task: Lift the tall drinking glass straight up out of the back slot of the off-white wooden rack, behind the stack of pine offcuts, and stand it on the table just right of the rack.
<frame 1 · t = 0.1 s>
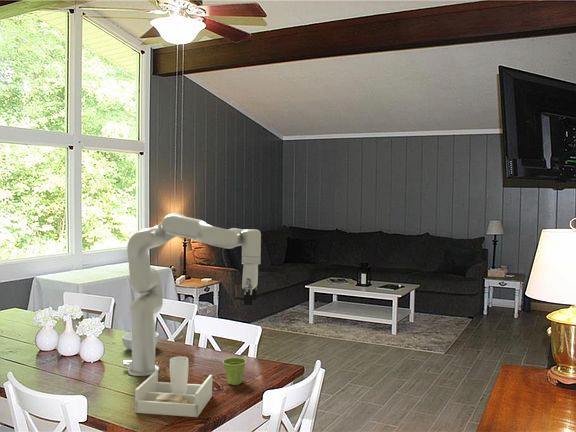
hand: (250, 302, 222), 31 cm above the table, tool pointing down, fingers open, 9 cm apart
offcut stack: (170, 410, 191), resting in rack
plant pot: (234, 383, 218), on the table
rack: (173, 405, 194), on the table
cereal bowl: (140, 350, 259), on the table
drinking glass: (178, 400, 200), resting in rack
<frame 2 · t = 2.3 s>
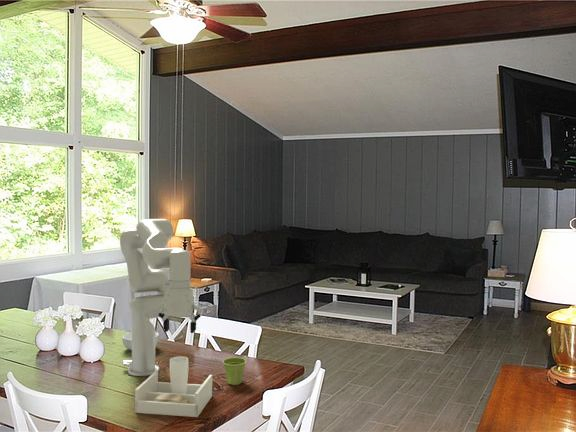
hand: (179, 331, 198), 25 cm above the table, tool pointing down, fingers open, 9 cm apart
nothing on the table moved.
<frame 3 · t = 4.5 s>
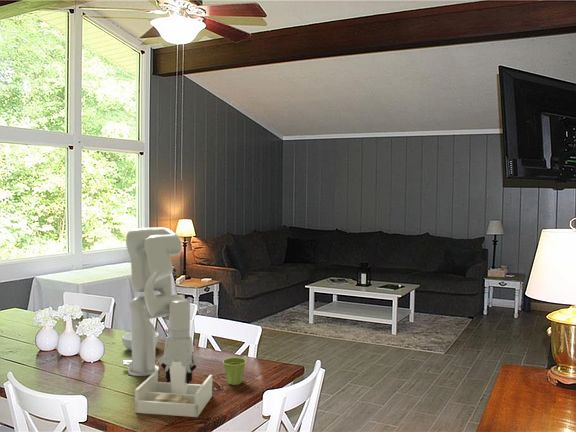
hand: (179, 381, 199), 7 cm above the table, tool pointing down, fingers closed on drinking glass, 6 cm apart
drinking glass: (178, 400, 200), resting in rack, touching gripper
everything else where it was.
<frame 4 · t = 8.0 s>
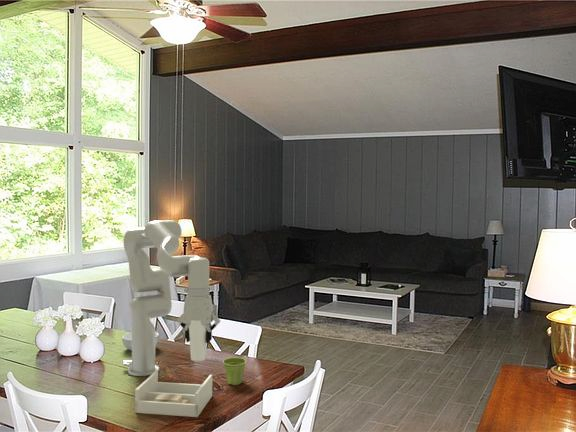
hand: (198, 341, 197), 22 cm above the table, tool pointing down, fingers closed on drinking glass, 6 cm apart
drinking glass: (198, 360, 198), point 15 cm above the table, touching gripper
everything else where it was.
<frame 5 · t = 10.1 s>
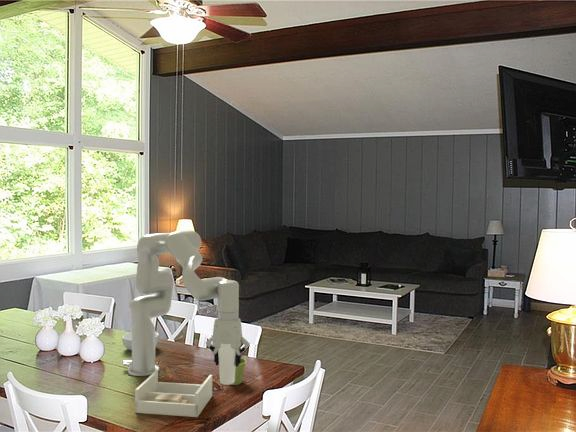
hand: (227, 364, 196), 14 cm above the table, tool pointing down, fingers closed on drinking glass, 6 cm apart
drinking glass: (227, 383, 197), point 7 cm above the table, touching gripper
everything else where it was.
when the fingers open (8 cm above the table, at t = 11.8 s): drinking glass drops 1 cm, on the table.
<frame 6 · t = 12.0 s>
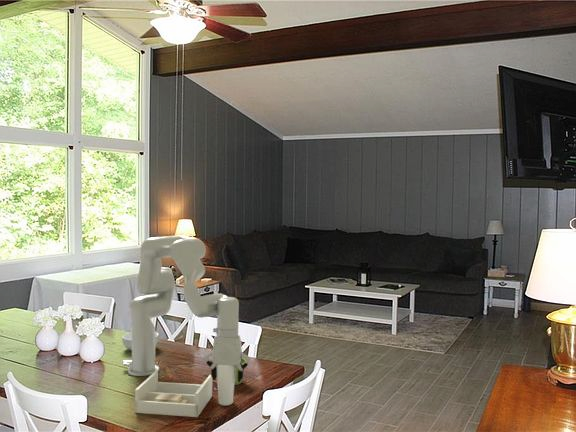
hand: (227, 379, 197), 9 cm above the table, tool pointing down, fingers open, 8 cm apart
drinking glass: (225, 403, 197), on the table
everything else where it was.
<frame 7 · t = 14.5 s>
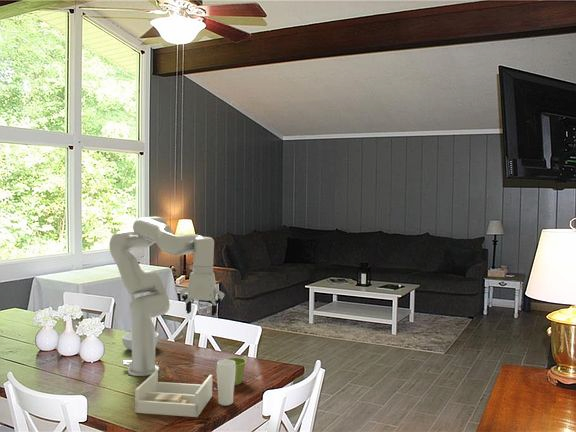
hand: (201, 313, 210), 29 cm above the table, tool pointing down, fingers open, 9 cm apart
nothing on the table moved.
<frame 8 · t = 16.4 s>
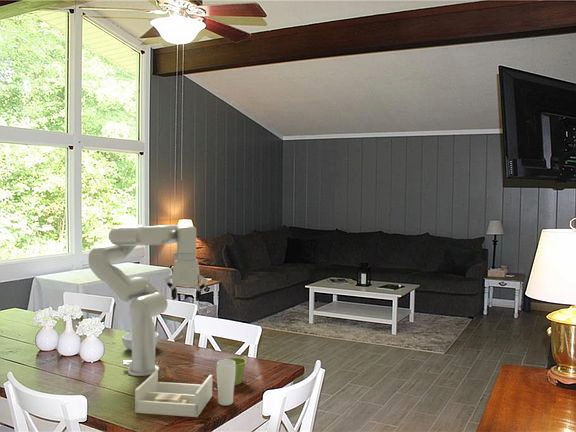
hand: (186, 299, 219), 32 cm above the table, tool pointing down, fingers open, 9 cm apart
nothing on the table moved.
at the end: drinking glass inside the target area (0.4 cm from its centre), on the table; drinking glass tilted 0°; the gripper is holding nothing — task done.
